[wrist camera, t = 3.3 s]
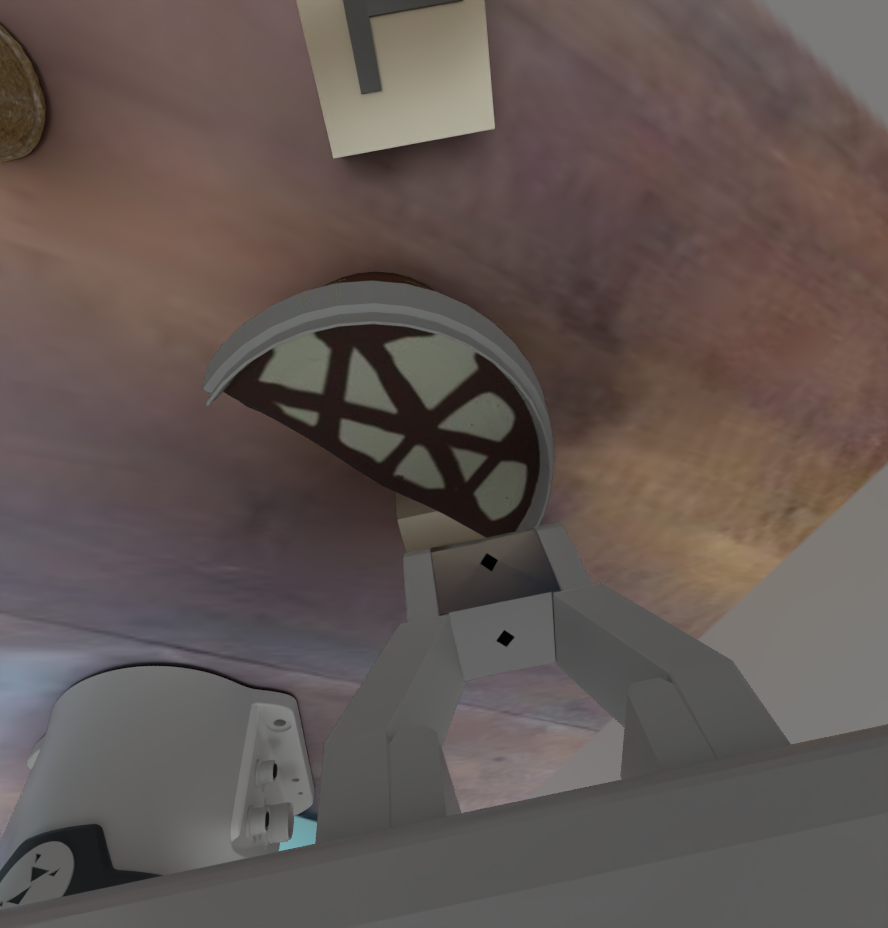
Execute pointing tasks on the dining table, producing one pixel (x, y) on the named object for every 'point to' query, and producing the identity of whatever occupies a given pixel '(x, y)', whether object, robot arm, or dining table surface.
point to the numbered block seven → (398, 70)
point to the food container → (402, 395)
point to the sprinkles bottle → (18, 101)
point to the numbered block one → (428, 526)
